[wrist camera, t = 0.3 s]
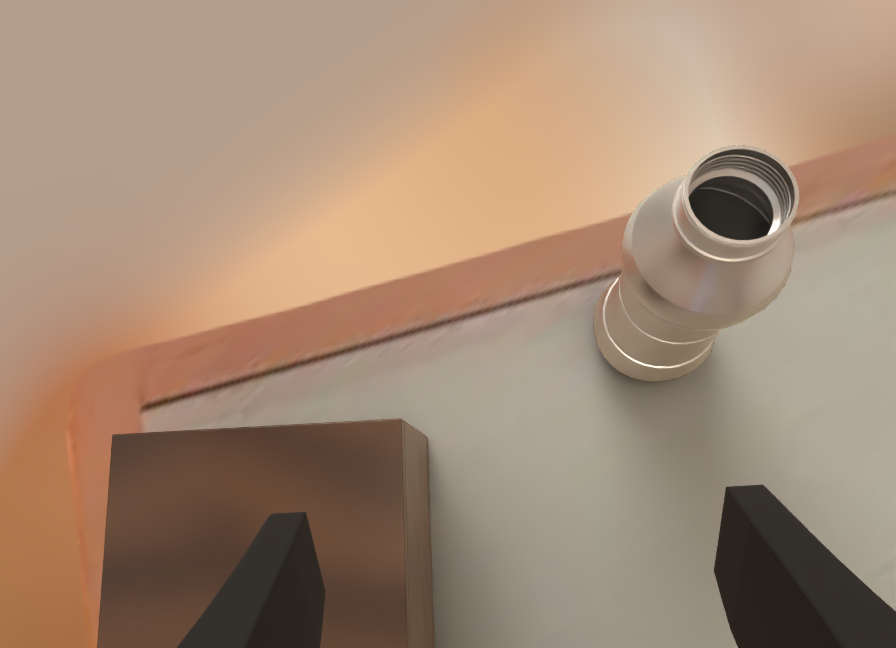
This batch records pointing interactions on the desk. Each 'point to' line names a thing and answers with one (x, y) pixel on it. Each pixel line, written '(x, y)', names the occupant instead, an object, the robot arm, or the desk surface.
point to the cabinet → (244, 512)
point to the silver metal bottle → (698, 262)
